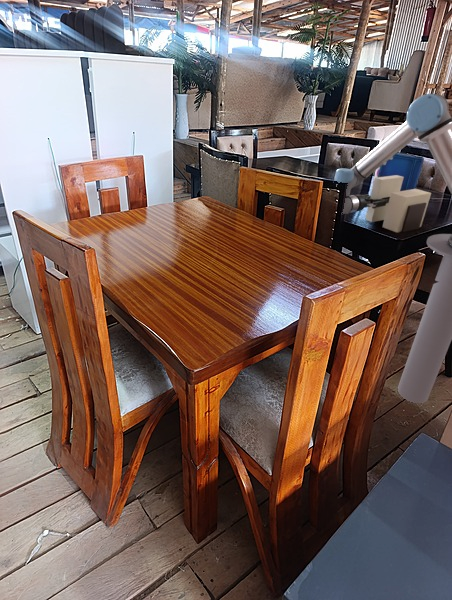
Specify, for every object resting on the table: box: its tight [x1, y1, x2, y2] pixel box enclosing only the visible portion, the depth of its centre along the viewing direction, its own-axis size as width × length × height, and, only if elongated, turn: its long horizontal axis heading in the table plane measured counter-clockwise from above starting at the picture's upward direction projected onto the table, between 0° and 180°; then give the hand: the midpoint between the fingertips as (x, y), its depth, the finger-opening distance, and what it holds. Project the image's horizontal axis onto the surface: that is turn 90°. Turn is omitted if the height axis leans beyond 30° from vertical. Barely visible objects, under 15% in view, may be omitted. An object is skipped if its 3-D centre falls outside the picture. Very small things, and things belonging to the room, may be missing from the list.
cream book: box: [364, 175, 404, 223], centre depth 191 cm, size 4×16×20 cm, turn 123°
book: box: [378, 151, 425, 191], centre depth 223 cm, size 22×7×25 cm, turn 58°
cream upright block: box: [382, 188, 432, 233], centre depth 182 cm, size 9×18×16 cm, turn 122°
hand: (386, 198), depth 191 cm, fingers closed on cream book, 4 cm apart
